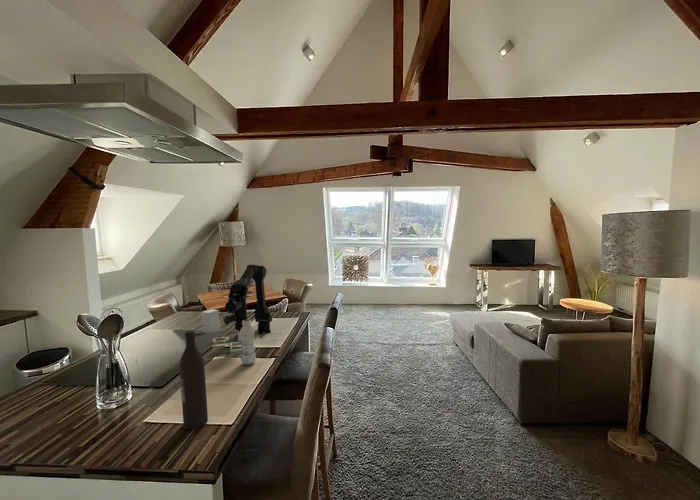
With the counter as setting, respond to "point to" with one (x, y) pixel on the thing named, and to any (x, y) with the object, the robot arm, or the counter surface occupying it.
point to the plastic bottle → (247, 343)
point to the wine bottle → (193, 385)
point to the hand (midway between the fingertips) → (242, 338)
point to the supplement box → (210, 321)
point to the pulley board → (225, 340)
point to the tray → (237, 349)
